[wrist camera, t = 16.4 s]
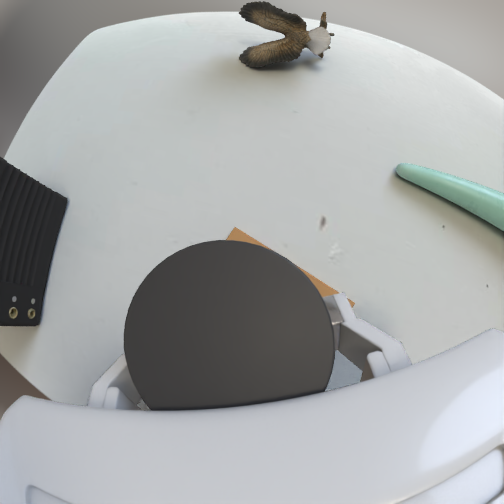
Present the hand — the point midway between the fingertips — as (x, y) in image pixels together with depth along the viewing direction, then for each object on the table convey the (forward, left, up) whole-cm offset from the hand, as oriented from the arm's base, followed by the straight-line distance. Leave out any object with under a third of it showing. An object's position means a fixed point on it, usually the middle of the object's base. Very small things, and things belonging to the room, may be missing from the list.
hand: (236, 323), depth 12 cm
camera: (-9, +22, -7) cm, 25 cm away
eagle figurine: (+24, +11, -7) cm, 27 cm away
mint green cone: (+20, -17, -7) cm, 27 cm away
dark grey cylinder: (0, 0, -5) cm, 5 cm away
